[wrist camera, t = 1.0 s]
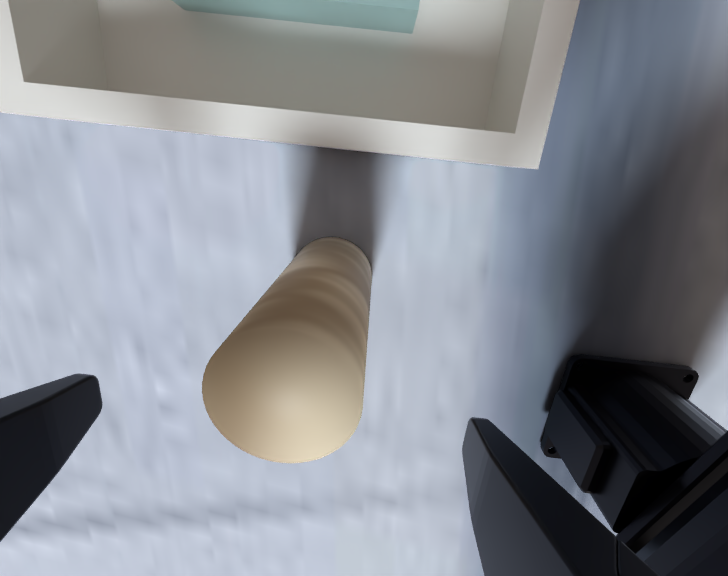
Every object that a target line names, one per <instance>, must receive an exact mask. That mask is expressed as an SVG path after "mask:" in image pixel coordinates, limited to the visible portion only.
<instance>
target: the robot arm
mask: <svg viewBox="0 0 728 576" xmlns="http://www.w3.org/2000/svg"><path fill="white" fill-rule="evenodd" d="M579 363H583V364H582V365H581V366H579V367H577V365H578V364H579ZM686 375H687V376H686ZM684 376H686V377H684ZM698 377H699V375H698V373H697V372H696V371H695V370H693V369H692V368H690V367H688V366H682V365H673V364H663V363H654V362H645V361H636V360H627V359H617V358H608V357H599V356H590V355H575V356H573V357H571V358H570V360H569V361H568V364H567V367H566V370H565V373H564V376H563V379H562V382H561V385H560V388H559V391H558V392H557V393H556V395H555V398H554V401H553V404H552V407H551V410H550V413H549V416H548V419H547V422H546V425H545V428H544V429H545V433H544V436H543V439H542V442H541V449H542V451H543V453H544V455H546V456H547V457H551V458H560V459H562V460H563V462H564V463H565V465H566V467H567V468H568V470H569V472H570V473H571V475H572V477H573V478H574V480H575V482H576V483H577V485H578V487H579V488H580V489H581V490H582V491H583V493H590V494H591V496H592V498H593V499H594V501H595V502H596V504H597V506H598V507H599V509H600V511H601V512H602V514H603V515H604V517H605V519H606V520H607V522H608V523H609V525H610V527H611V528H612V530H613V531H614V532H616V533H618V534H617V535H616V536H615V535H614V534H613V533H612V532H611V531H609V530H608V529H607V528H606V527H605V526H604V525H603V524H602V523H601V522H600V521H599V520H597V519H596V518H595V517H594V516H593V515H592V514H591V513H590V512H589V511H588V510H587V509H585V508H584V507H583V506H582V505H581V504H580V503H579V502H578V501H577V500H576V499H575V498H573V497H572V496H571V495H570V494H569V493H568V492H567V491H566V490H565V489H564V488H563V487H561V486H560V485H559V484H558V483H557V482H556V481H555V480H554V479H553V478H552V477H551V476H549V475H548V474H547V473H546V472H545V471H544V470H543V469H542V468H541V467H540V466H539V465H537V464H536V463H535V462H534V461H533V460H532V459H531V458H530V457H529V456H528V455H527V454H525V453H524V452H523V451H522V450H521V449H520V448H519V447H518V446H517V445H516V444H515V443H513V442H512V441H511V440H510V439H509V438H508V437H507V436H506V435H505V434H504V433H503V432H501V431H500V430H499V429H498V428H497V427H496V426H495V425H494V424H493V423H492V422H491V421H489V420H488V419H484V418H475V417H472V418H470V419H469V421H468V425H467V429H466V433H465V437H464V442H463V448H462V454H463V462H464V470H465V477H466V485H467V492H468V500H469V508H470V514H471V521H472V525H473V530H474V534H475V538H476V542H477V547H478V551H479V555H480V559H481V563H482V567H483V571H484V575H485V576H728V431H727V430H726V429H724V428H723V427H722V426H721V425H719V424H718V423H717V422H715V421H714V420H713V419H712V418H710V417H709V416H708V415H707V414H705V413H704V412H703V411H702V410H700V409H699V408H698V407H697V406H695V405H694V404H693V403H692V402H690V401H689V400H688V399H689V397H690V395H691V393H692V391H693V389H694V387H695V385H696V383H697V381H698ZM101 409H102V398H101V393H100V387H99V381H98V379H97V377H96V376H94V375H88V374H74V375H71V376H68V377H65V378H62V379H58V380H55V381H52V382H49V383H46V384H43V385H40V386H37V387H34V388H31V389H28V390H25V391H22V392H19V393H16V394H13V395H10V396H7V397H4V398H1V399H0V542H1V541H2V539H3V538H4V537H5V536H6V535H7V533H8V532H9V531H10V530H11V529H12V527H13V526H14V525H15V524H16V523H17V521H18V520H19V519H20V518H21V517H22V515H23V514H24V513H25V512H26V511H27V510H28V508H29V507H30V506H31V505H32V504H33V502H34V501H35V500H36V499H37V498H38V496H39V495H40V494H41V493H42V492H43V490H44V489H45V488H46V487H47V486H48V484H49V483H50V482H51V481H52V480H53V478H54V477H55V476H56V475H57V473H58V472H59V471H60V469H61V468H62V467H63V465H64V464H65V462H66V461H67V460H68V458H69V457H70V455H71V454H72V453H73V451H74V450H75V448H76V447H77V445H78V444H79V443H80V441H81V440H82V438H83V437H84V435H85V434H86V433H87V431H88V430H89V428H90V427H91V425H92V424H93V423H94V421H95V420H96V418H97V417H98V415H99V414H100V412H101ZM551 447H553V448H551ZM549 448H551V449H549Z"/></svg>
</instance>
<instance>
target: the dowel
mask: <svg viewBox="0 0 728 576" xmlns="http://www.w3.org/2000/svg"><path fill="white" fill-rule="evenodd" d="M371 283H372V271H371V267H370V263H369V261H368V259H367V257H366V256H365V254H364V253H363V252H362V250H361V249H360V248H359V247H357V246H356V245H355V244H353V243H352V242H350V241H348V240H345V239H342V238H338V237H323V238H319V239H316V240H314V241H312V242H310V243H309V244H307V245H306V246H305V247H304V248H303V249H302V250H301V251H300V252H299V253H298V254H297V256H296V257H295V258H294V259H293V260H292V262H291V263H290V264H289V265H288V266H287V267H286V269H285V270H284V271H283V272H282V273H281V275H280V276H279V277H278V278H277V279H276V281H275V282H274V283H273V284H272V285H271V286H270V288H269V289H268V290H267V291H266V292H265V294H264V295H263V296H262V297H261V298H260V300H259V301H258V302H257V303H256V304H255V305H254V307H253V308H252V309H251V310H250V311H249V313H248V314H247V315H246V316H245V317H244V318H243V320H242V321H241V322H240V323H239V324H238V326H237V327H236V328H235V329H234V330H233V332H232V333H231V334H230V335H229V336H228V337H227V339H226V340H225V341H224V342H223V343H222V345H221V346H220V347H219V348H218V349H217V351H216V352H215V353H214V354H213V356H212V357H211V359H210V360H209V362H208V364H207V366H206V369H205V372H204V376H203V381H202V394H203V401H204V404H205V408H206V410H207V413H208V415H209V417H210V419H211V420H212V422H213V424H214V425H215V426H216V428H217V429H218V430H219V431H220V433H221V434H222V435H223V436H224V437H225V438H226V439H227V440H229V441H230V442H231V443H232V444H234V445H235V446H237V447H238V448H240V449H241V450H243V451H245V452H247V453H249V454H251V455H253V456H256V457H259V458H261V459H265V460H269V461H274V462H280V463H302V462H308V461H313V460H316V459H320V458H322V457H325V456H327V455H329V454H331V453H333V452H334V451H336V450H337V449H339V448H340V447H341V446H343V445H344V444H345V443H346V442H347V441H348V440H349V438H350V437H351V436H352V435H353V433H354V432H355V430H356V428H357V426H358V424H359V421H360V418H361V414H362V409H363V395H364V381H365V367H366V353H367V339H368V325H369V311H370V297H371Z"/></svg>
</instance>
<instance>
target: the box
mask: <svg viewBox="0 0 728 576" xmlns="http://www.w3.org/2000/svg"><path fill="white" fill-rule="evenodd" d="M579 2H580V0H0V112H1V113H9V114H17V115H26V116H35V117H44V118H53V119H61V120H70V121H79V122H88V123H97V124H106V125H115V126H125V127H134V128H144V129H153V130H163V131H172V132H182V133H191V134H201V135H210V136H220V137H229V138H239V139H248V140H257V141H267V142H276V143H286V144H295V145H305V146H314V147H324V148H333V149H343V150H352V151H362V152H371V153H381V154H390V155H400V156H409V157H418V158H428V159H437V160H447V161H456V162H466V163H475V164H485V165H494V166H505V167H517V168H528V169H538V167H539V163H540V159H541V155H542V151H543V147H544V143H545V139H546V135H547V131H548V127H549V123H550V119H551V115H552V111H553V107H554V103H555V99H556V95H557V91H558V87H559V83H560V79H561V75H562V71H563V67H564V63H565V59H566V55H567V51H568V47H569V43H570V39H571V35H572V31H573V27H574V23H575V18H576V14H577V10H578V6H579Z"/></svg>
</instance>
